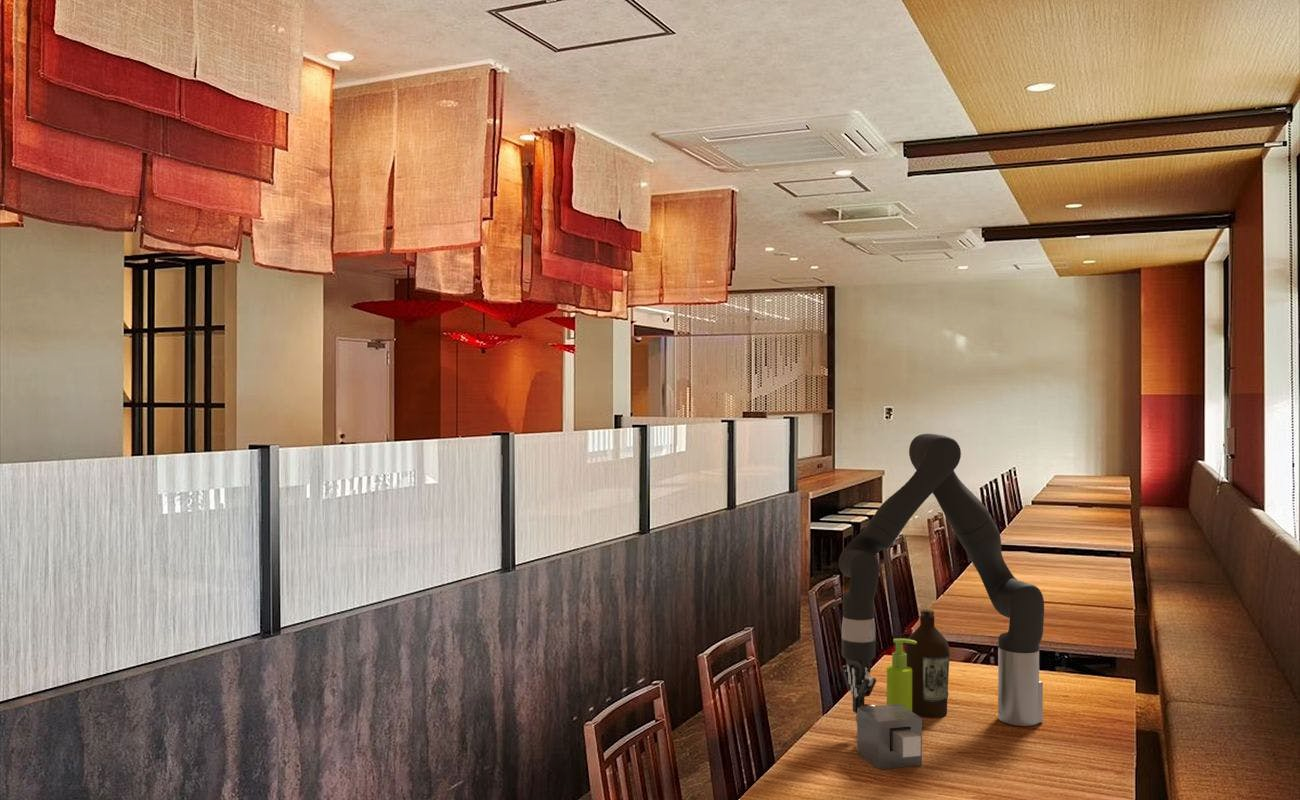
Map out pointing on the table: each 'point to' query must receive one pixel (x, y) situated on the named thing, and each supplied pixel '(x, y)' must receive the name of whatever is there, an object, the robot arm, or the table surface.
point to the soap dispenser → (900, 677)
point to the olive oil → (928, 668)
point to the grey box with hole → (885, 735)
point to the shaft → (903, 740)
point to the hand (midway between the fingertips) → (858, 712)
